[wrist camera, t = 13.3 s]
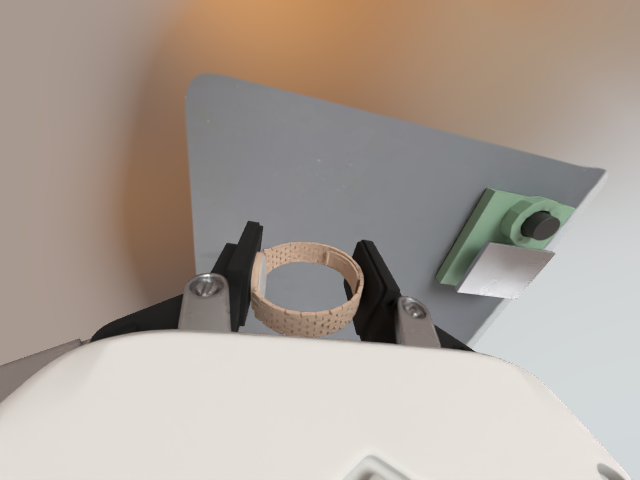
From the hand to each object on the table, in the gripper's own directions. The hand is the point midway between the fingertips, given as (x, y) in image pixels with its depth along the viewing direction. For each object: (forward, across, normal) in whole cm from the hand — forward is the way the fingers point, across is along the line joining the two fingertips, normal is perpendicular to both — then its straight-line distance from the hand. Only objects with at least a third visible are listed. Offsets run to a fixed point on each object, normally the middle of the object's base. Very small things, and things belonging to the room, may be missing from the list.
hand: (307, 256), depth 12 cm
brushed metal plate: (+12, -28, +6) cm, 31 cm away
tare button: (+12, -28, -1) cm, 31 cm away
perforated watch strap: (+1, 0, 0) cm, 1 cm away
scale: (+15, -28, +3) cm, 32 cm away
